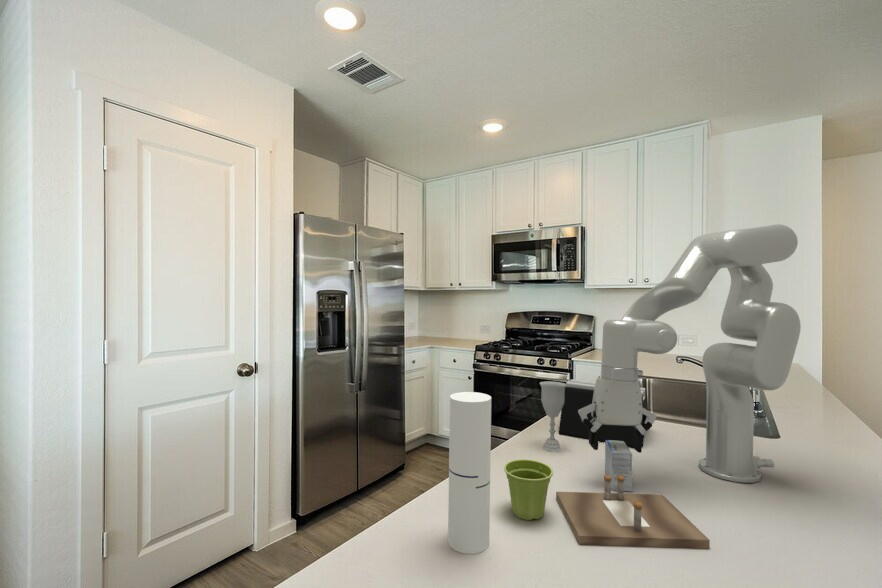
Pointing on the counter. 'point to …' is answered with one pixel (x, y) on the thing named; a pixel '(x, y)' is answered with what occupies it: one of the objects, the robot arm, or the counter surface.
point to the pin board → (628, 519)
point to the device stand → (590, 415)
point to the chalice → (552, 409)
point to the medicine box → (618, 463)
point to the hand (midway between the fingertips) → (615, 449)
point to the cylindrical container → (469, 472)
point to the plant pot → (528, 487)
